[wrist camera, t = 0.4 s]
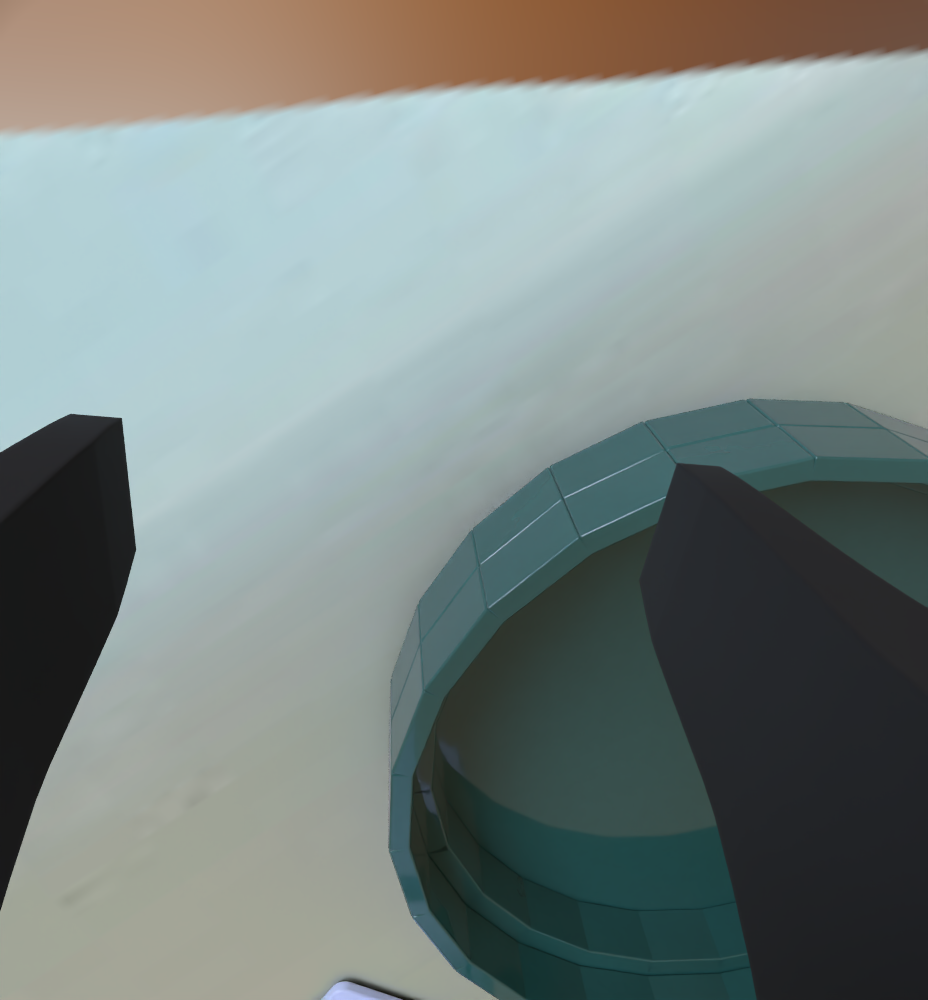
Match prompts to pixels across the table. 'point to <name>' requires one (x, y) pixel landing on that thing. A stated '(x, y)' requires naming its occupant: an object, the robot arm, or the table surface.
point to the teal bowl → (604, 707)
